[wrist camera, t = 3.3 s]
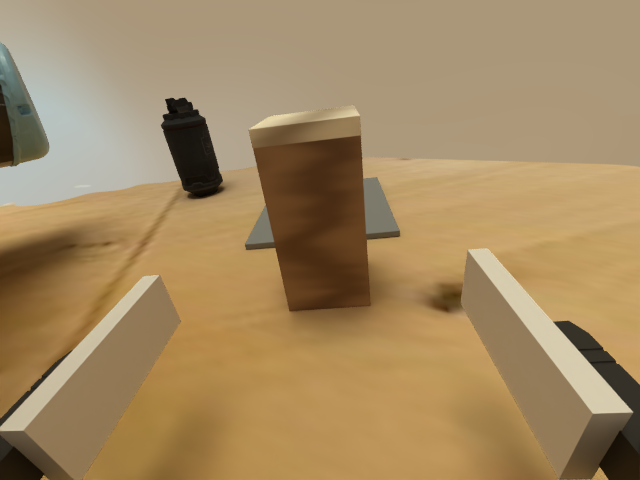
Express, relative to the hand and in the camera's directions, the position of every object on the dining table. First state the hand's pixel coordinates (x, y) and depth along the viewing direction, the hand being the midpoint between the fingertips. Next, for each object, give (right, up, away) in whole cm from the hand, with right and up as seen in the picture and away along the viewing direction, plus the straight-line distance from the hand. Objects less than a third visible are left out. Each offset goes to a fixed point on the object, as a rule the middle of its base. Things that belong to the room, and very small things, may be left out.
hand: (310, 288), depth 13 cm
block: (+1, -1, +12) cm, 12 cm away
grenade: (-19, +10, +39) cm, 45 cm away
